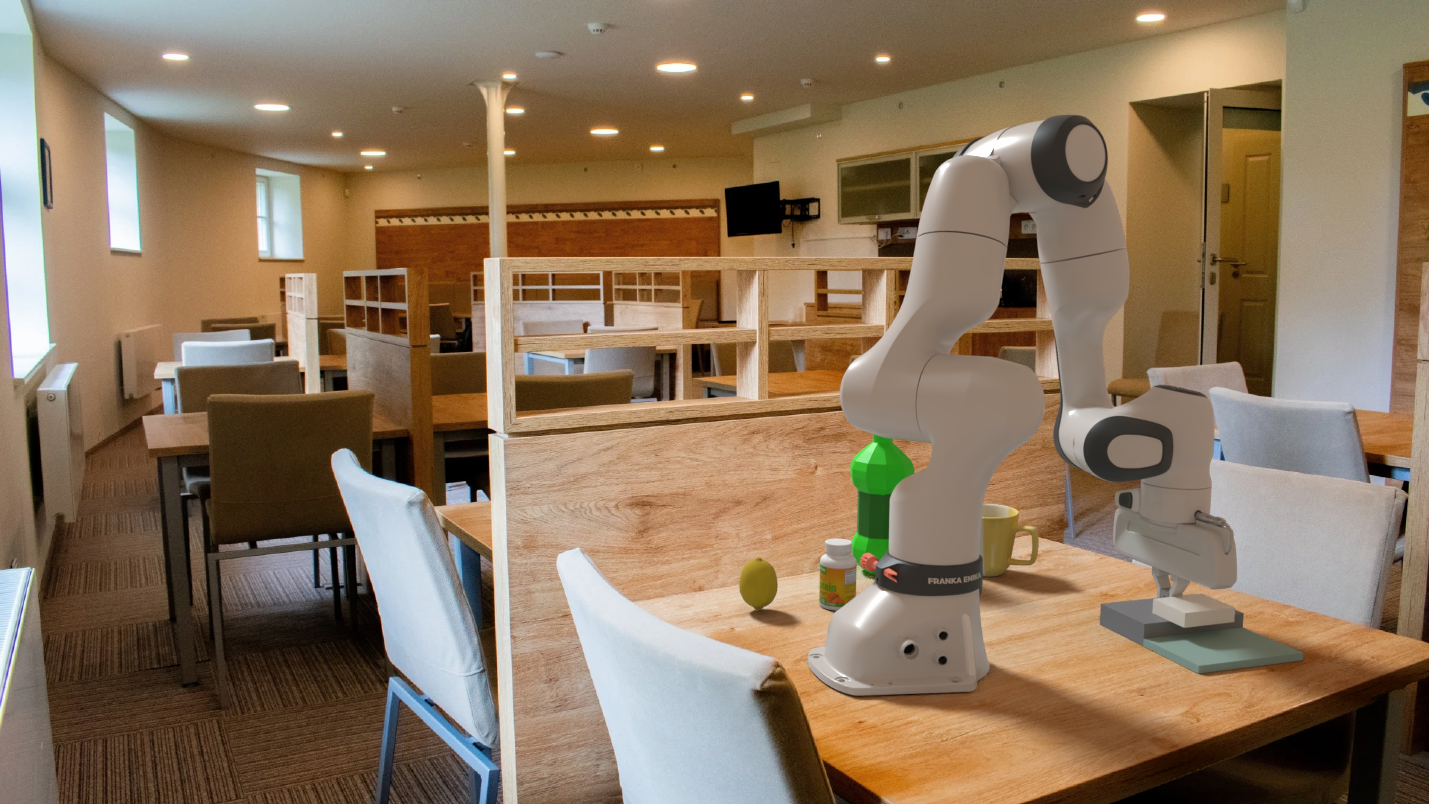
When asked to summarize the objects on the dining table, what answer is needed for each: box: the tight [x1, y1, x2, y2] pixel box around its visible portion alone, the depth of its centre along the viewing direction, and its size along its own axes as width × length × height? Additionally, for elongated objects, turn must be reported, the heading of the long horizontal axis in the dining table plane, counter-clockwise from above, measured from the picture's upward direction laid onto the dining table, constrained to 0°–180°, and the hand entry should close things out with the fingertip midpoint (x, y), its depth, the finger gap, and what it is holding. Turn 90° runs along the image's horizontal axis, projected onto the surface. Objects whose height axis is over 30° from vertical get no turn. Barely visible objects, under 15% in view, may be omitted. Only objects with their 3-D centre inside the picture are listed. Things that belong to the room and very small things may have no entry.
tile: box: [1152, 593, 1236, 628], centre depth 139 cm, size 8×6×2 cm
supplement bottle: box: [818, 537, 858, 612], centre depth 153 cm, size 5×5×10 cm
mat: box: [1142, 626, 1304, 675], centre depth 134 cm, size 16×10×1 cm, turn 106°
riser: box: [1099, 593, 1245, 647], centre depth 143 cm, size 16×9×3 cm, turn 106°
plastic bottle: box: [849, 434, 915, 576], centre depth 170 cm, size 10×10×25 cm
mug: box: [980, 503, 1040, 577], centre depth 169 cm, size 14×10×10 cm
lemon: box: [738, 556, 778, 612], centre depth 151 cm, size 6×6×8 cm
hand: (1169, 602), depth 143 cm, fingers closed
